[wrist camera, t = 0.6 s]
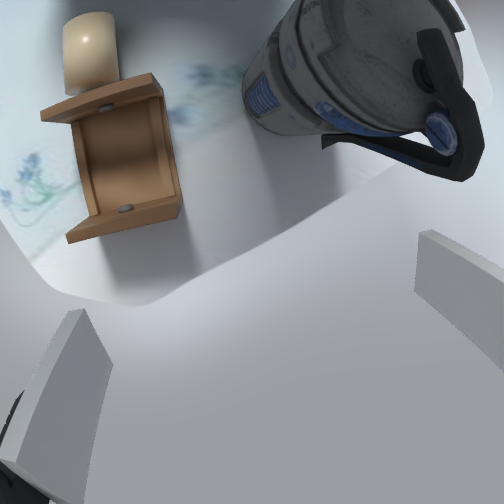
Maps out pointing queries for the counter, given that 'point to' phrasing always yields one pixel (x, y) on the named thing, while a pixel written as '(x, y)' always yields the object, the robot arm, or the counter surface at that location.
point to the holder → (121, 156)
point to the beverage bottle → (370, 81)
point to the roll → (89, 52)
